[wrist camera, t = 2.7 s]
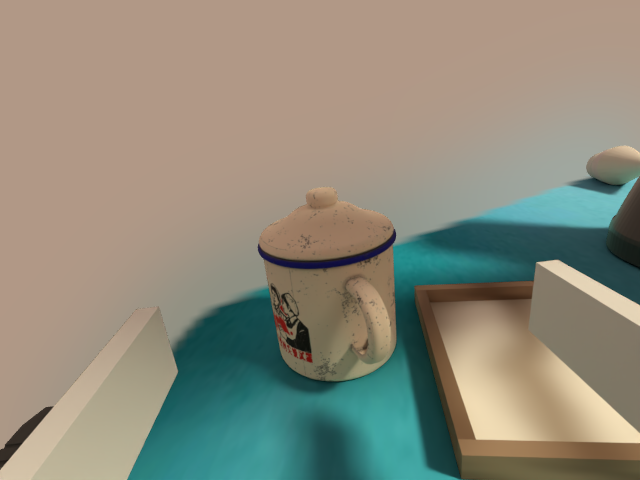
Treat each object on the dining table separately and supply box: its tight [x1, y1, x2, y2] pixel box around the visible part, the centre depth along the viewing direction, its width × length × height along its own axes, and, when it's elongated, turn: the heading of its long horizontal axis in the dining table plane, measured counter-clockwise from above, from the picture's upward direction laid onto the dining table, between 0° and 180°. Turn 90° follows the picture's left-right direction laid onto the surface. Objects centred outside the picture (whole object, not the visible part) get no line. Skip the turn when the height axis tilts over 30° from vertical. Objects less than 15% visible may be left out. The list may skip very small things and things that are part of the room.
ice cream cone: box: [586, 146, 640, 185], centre depth 55 cm, size 6×6×15 cm
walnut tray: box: [415, 281, 640, 480], centre depth 22 cm, size 13×16×2 cm
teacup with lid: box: [258, 187, 396, 381], centre depth 23 cm, size 12×9×12 cm
